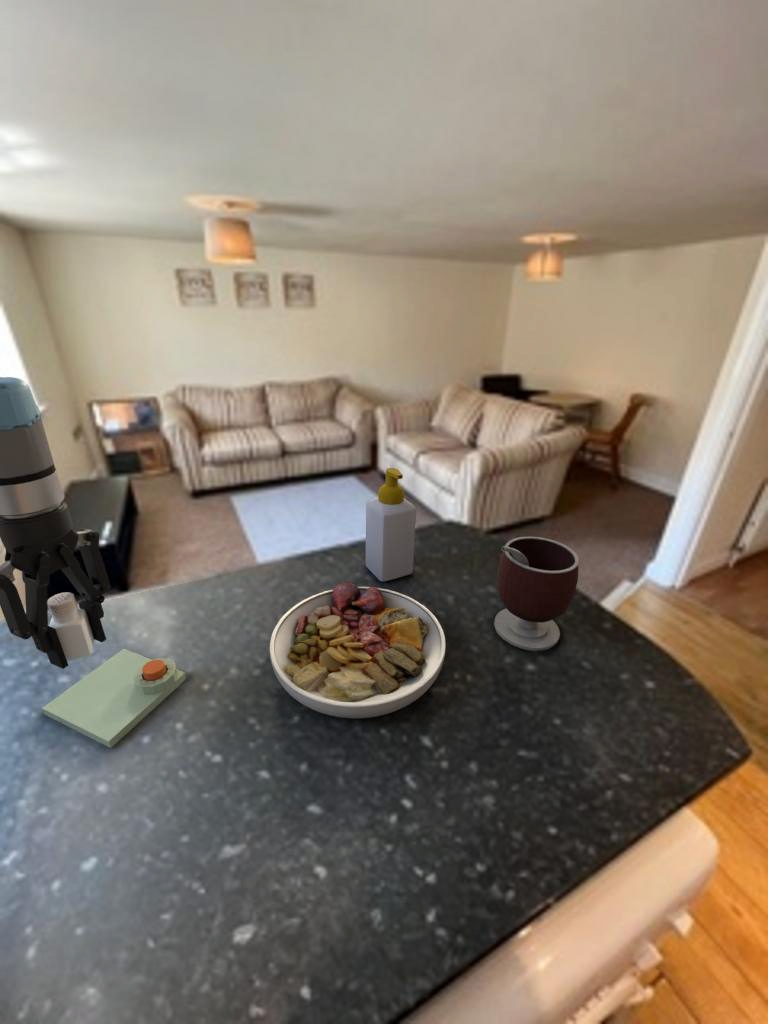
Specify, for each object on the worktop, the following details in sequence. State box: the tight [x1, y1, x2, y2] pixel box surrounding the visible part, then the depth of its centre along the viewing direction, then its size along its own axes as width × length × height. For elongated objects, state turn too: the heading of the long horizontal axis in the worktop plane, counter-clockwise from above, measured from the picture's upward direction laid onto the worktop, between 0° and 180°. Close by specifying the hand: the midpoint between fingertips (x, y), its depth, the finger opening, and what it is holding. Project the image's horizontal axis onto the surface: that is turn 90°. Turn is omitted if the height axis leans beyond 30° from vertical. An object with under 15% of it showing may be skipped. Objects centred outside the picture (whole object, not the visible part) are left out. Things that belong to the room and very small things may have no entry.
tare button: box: [142, 658, 166, 681], centre depth 71 cm, size 3×3×2 cm
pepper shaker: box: [47, 591, 95, 662], centre depth 64 cm, size 4×4×10 cm
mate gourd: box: [493, 536, 580, 652], centre depth 83 cm, size 16×14×20 cm
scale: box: [41, 648, 187, 749], centre depth 70 cm, size 14×14×3 cm
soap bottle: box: [365, 467, 417, 583], centre depth 101 cm, size 9×9×25 cm
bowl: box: [269, 581, 446, 719], centre depth 78 cm, size 30×30×8 cm
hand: (79, 650), depth 66 cm, fingers closed on pepper shaker, 5 cm apart
